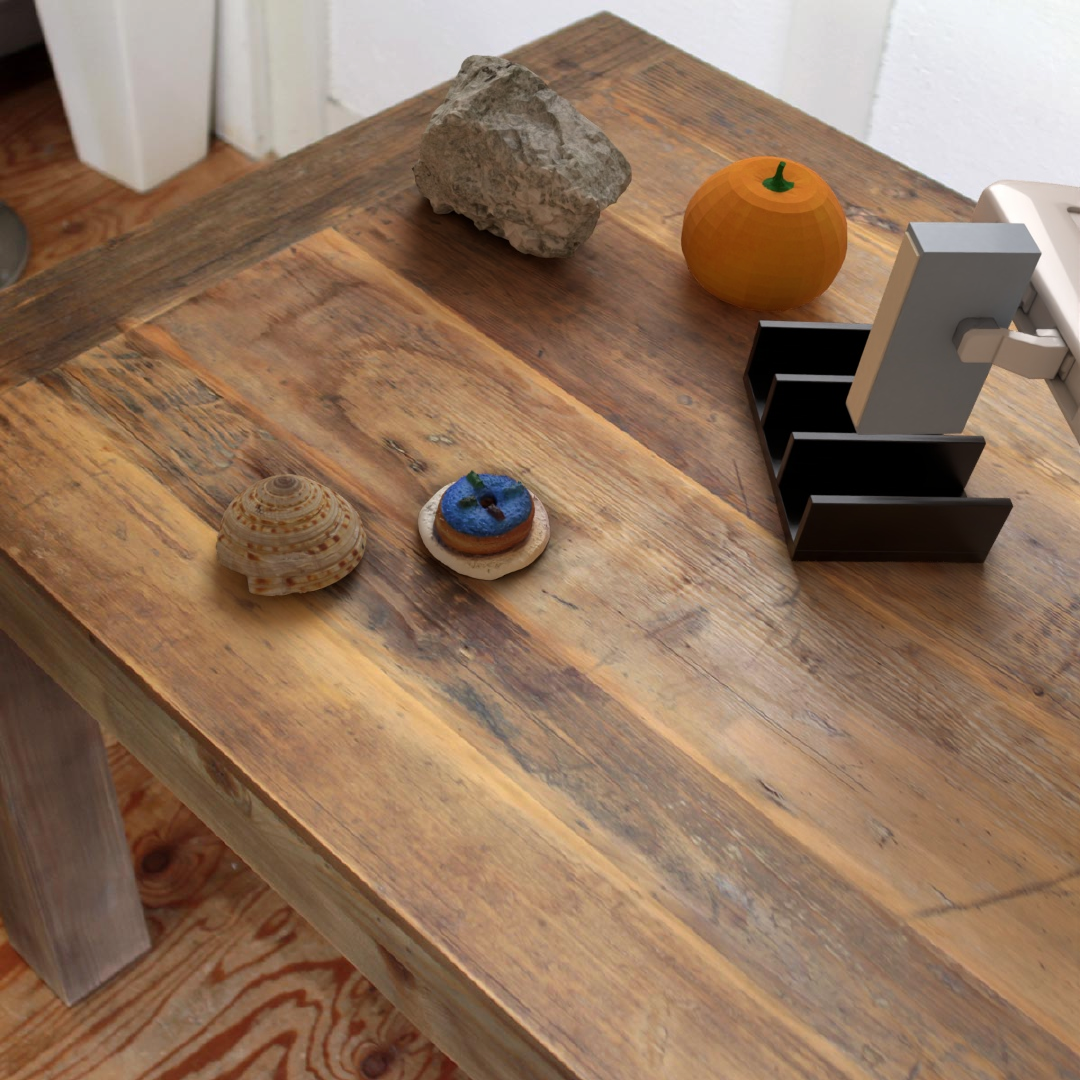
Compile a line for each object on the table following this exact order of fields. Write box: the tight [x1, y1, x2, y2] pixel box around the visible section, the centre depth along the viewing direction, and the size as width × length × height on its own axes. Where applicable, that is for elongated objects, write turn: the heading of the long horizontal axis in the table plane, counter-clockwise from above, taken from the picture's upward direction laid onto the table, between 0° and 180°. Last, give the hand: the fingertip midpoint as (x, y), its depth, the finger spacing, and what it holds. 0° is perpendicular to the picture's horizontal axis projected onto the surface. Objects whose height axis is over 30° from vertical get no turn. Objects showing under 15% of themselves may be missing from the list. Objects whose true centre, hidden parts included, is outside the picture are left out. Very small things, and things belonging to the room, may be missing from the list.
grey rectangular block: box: [846, 221, 1042, 435], centre depth 69 cm, size 2×6×12 cm, turn 96°
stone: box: [411, 54, 633, 259], centre depth 96 cm, size 10×12×15 cm
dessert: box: [417, 469, 551, 581], centre depth 78 cm, size 8×7×6 cm
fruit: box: [680, 155, 848, 313], centre depth 94 cm, size 12×12×10 cm
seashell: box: [215, 473, 368, 597], centre depth 75 cm, size 8×6×8 cm
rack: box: [742, 319, 1014, 564], centre depth 83 cm, size 12×16×5 cm
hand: (946, 315), depth 68 cm, fingers closed on grey rectangular block, 2 cm apart
